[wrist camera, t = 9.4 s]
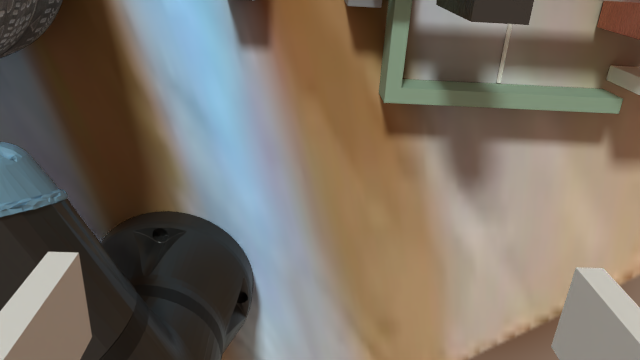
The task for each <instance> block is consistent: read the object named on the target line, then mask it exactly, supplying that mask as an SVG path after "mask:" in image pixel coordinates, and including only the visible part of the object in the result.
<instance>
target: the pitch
mask: <svg viewBox="0 0 640 360" xmlns="http://www.w3.org/2000/svg"><path fill="white" fill-rule="evenodd" d="M254 1H255V0H254ZM344 1H345V3H346V4H347V5H348V6H359V7H376V8H381V5H382V0H344ZM411 6H412V0H389V1H388V11H387V20H386V29H385V39H384V48H383V57H382V67H381V76H380V85H379V94H380V96H381V98H382V100H383V102H384V103H402V104H423V105H445V106H466V107H487V108H509V109H530V110H551V111H573V112H594V113H615V114H619V111H620V108H621V105H622V101H623V99H622V98H620V97H618V96H616V95H614V94H612V93H610V92H608V91H606V90H604V89H593V88H573V87H553V86H533V85H513V84H492V83H472V82H452V81H432V80H412V79H402V78H403V70H404V62H405V54H406V46H407V38H408V30H409V22H410V14H411ZM511 29H512V24H508V27H507V32H506V37H505V42H504V47H503V51H502V56H501V61H500V66H499V71H498V76H497V81H496V83H501V78H502V73H503V68H504V64H505V59H506V54H507V49H508V44H509V39H510V34H511Z"/></svg>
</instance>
